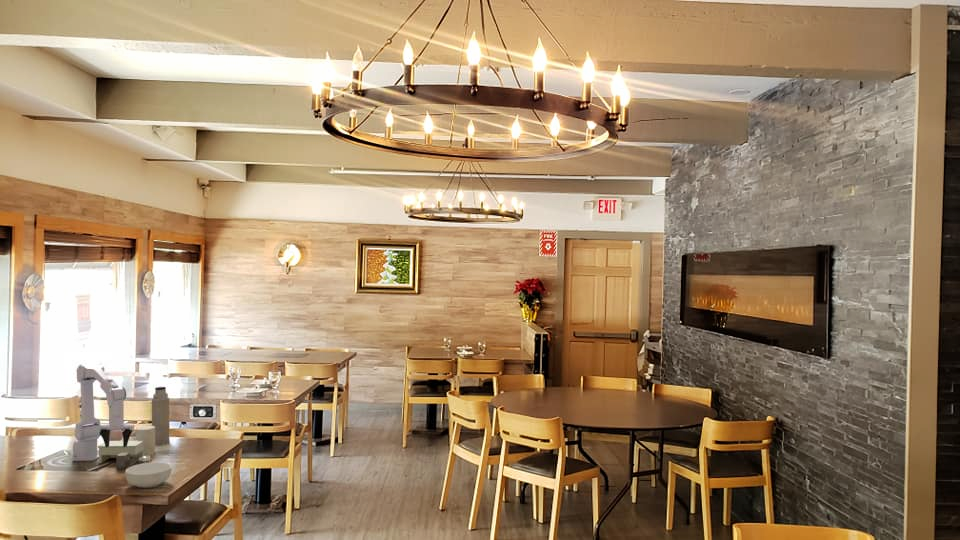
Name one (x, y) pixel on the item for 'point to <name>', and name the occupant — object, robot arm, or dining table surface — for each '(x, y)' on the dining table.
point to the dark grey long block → (125, 460)
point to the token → (144, 458)
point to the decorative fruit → (115, 435)
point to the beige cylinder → (146, 438)
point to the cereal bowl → (148, 474)
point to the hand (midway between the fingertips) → (116, 446)
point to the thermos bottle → (160, 415)
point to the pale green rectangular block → (120, 449)
